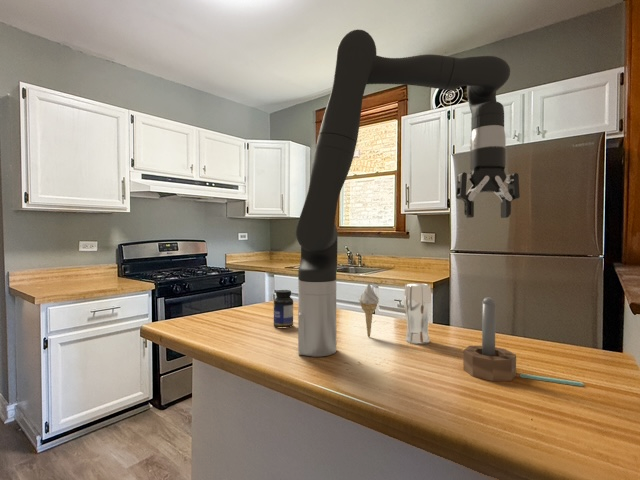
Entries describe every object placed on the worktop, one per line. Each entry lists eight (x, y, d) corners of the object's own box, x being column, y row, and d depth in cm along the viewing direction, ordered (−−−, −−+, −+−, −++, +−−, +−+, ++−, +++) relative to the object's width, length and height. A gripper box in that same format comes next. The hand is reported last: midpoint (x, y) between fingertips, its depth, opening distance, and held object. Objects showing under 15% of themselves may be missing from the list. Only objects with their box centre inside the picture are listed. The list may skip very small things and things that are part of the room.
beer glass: (432, 345, 88) (432, 286, 88) (404, 344, 90) (404, 286, 90) (429, 338, 95) (429, 283, 95) (403, 336, 96) (403, 282, 96)
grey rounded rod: (486, 374, 70) (486, 298, 70) (479, 370, 72) (479, 296, 72) (497, 374, 70) (497, 298, 70) (491, 369, 72) (491, 296, 72)
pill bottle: (270, 325, 109) (270, 290, 109) (286, 322, 113) (286, 288, 113) (279, 329, 104) (279, 292, 104) (297, 326, 108) (297, 291, 108)
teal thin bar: (520, 377, 68) (520, 374, 68) (520, 375, 69) (520, 373, 69) (583, 386, 64) (583, 383, 64) (582, 385, 64) (582, 382, 64)
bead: (479, 381, 66) (479, 360, 66) (457, 364, 75) (457, 346, 75) (524, 380, 67) (524, 359, 67) (497, 363, 76) (497, 345, 76)
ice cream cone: (356, 338, 95) (356, 283, 95) (361, 333, 100) (361, 281, 100) (376, 340, 93) (376, 284, 93) (381, 335, 98) (381, 282, 98)
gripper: (466, 144, 78) (466, 216, 78) (526, 145, 79) (526, 216, 79) (451, 152, 85) (451, 218, 85) (506, 153, 86) (506, 218, 86)
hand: (487, 217), depth 82 cm, fingers open, 8 cm apart
